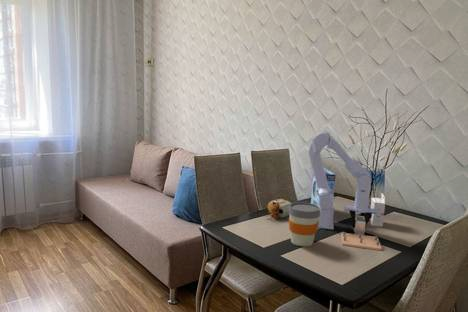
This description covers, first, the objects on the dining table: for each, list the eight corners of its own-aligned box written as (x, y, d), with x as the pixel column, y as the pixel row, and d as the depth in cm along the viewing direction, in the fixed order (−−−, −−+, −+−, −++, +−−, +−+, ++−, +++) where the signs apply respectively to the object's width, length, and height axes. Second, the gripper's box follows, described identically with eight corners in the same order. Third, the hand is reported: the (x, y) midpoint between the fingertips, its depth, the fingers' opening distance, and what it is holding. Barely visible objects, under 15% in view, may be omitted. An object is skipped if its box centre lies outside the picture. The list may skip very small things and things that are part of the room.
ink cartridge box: (368, 219, 170) (371, 191, 168) (379, 220, 169) (382, 192, 167) (371, 226, 162) (375, 196, 159) (382, 227, 161) (386, 197, 158)
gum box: (310, 206, 188) (313, 165, 184) (319, 206, 188) (322, 166, 184) (321, 219, 169) (325, 173, 165) (332, 219, 169) (336, 174, 165)
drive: (354, 233, 151) (356, 220, 150) (353, 227, 159) (354, 214, 158) (364, 235, 150) (365, 221, 149) (362, 228, 158) (363, 216, 157)
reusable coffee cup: (299, 250, 133) (302, 213, 130) (280, 238, 144) (282, 204, 141) (324, 245, 138) (327, 209, 136) (304, 233, 149) (306, 200, 147)
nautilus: (276, 226, 158) (251, 219, 168) (301, 213, 174) (276, 207, 184) (276, 210, 157) (250, 204, 166) (300, 198, 172) (276, 193, 182)
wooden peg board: (342, 245, 139) (342, 239, 139) (340, 234, 150) (341, 228, 150) (381, 250, 135) (382, 244, 135) (377, 238, 147) (377, 233, 146)
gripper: (345, 199, 150) (342, 228, 152) (380, 203, 147) (377, 233, 149) (344, 195, 157) (341, 223, 159) (378, 198, 153) (375, 227, 156)
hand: (358, 227), depth 154 cm, fingers closed on drive, 4 cm apart
